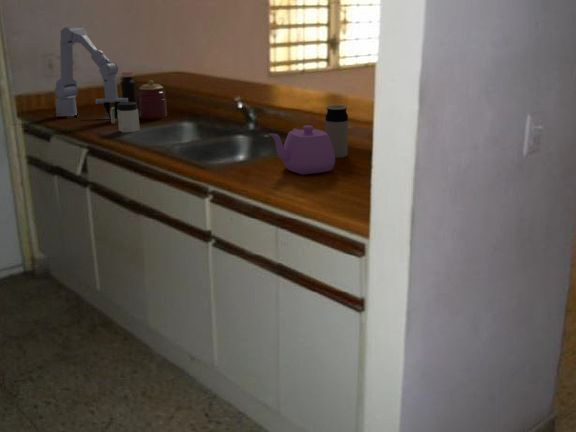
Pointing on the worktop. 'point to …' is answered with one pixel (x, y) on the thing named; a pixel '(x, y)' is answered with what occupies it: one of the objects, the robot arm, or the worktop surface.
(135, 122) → the jar
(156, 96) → the canister
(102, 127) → the worktop surface
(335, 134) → the travel mug
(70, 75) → the robot arm
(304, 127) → the teapot
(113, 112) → the tile
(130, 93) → the bottle
